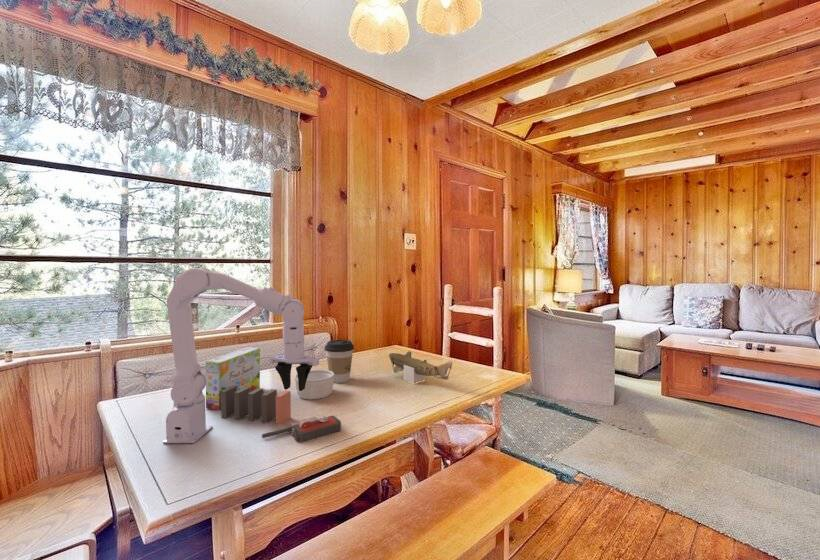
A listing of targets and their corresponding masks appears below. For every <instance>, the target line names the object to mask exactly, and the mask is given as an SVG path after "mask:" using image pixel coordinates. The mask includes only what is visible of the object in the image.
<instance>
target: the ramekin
mask: <svg viewBox="0 0 820 560" xmlns="http://www.w3.org/2000/svg"><path fill="white" fill-rule="evenodd" d="M333 379H334V373H333V372H332V371H329V370H327V369H311V370H310V372H309V374H308V377H307V381H306V385H305V389H304V390H302V391H299V385H298V374H297V373H296V374H295V375H294V382H295V387H296V392H297V393H296V394H297V396H299V398H301V399H303V400H311V401H312V399H314V400H320V398H321V399H324V398H326V397H329V396H330V395H331V394H332V393H333V387H334V386H333V385H334V383H333Z"/></svg>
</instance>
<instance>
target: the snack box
mask: <svg viewBox="0 0 820 560" xmlns="http://www.w3.org/2000/svg"><path fill="white" fill-rule="evenodd" d="M260 361H261V348H260V347H251V346H250V347H249V346H247V347H245V348H241V349H239V350H235V351H232V352H230V353H227V354H224V355H221V356H218V357H216V358H213V359H210V360H207V361H205V378H206V386H205V409H210V410H217V411H220V410H221V391H222V390H224V389H226V388H229V387H231V386H237V391H238V390H240V389H242V388H244V387H250V392H252V391H254V390H256V389H258V388H261V378H260V377H261V374H260V373H261V362H260Z"/></svg>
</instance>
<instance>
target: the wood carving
mask: <svg viewBox="0 0 820 560" xmlns="http://www.w3.org/2000/svg"><path fill="white" fill-rule="evenodd" d="M388 357H389V359H390V360H389V361H390V364H391V366H392V370H393V373H394V374H395V373H399V372H402V371H403V381H404V380H406V381H409V382H412V383H416V382H419V381H423V380H426V381H427V379H426V377H434V378H437V379H441V380H445V381H447V380H448V379H449V376H450V373H451V370H452V367H453V362H452V361H448V362H445V363H442V364H440V365H434V364H431V363H428V361H427V360H426V359H424V360H420V359H418V358H414V357H412V351H407V352H406V354H401V353H394V352H391V353H389V354H388ZM406 381H405V382H406ZM409 382H408V383H409ZM412 383H411V384H412Z"/></svg>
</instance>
